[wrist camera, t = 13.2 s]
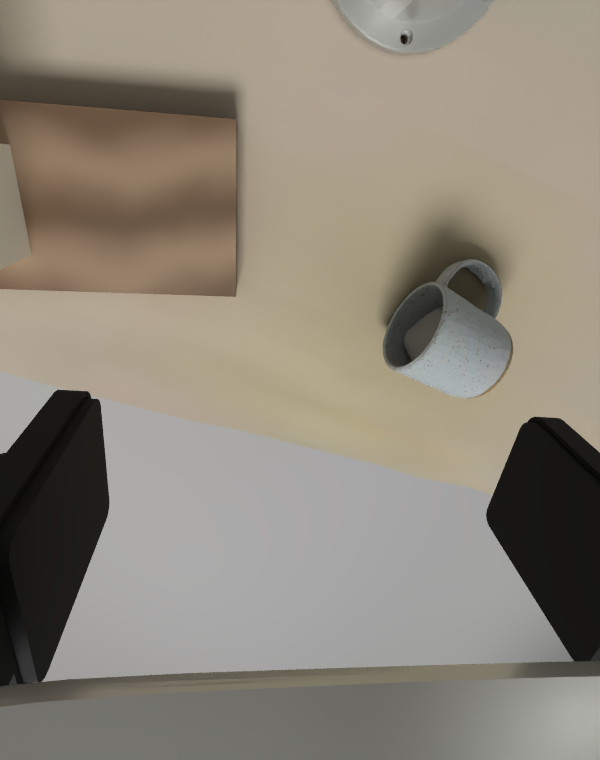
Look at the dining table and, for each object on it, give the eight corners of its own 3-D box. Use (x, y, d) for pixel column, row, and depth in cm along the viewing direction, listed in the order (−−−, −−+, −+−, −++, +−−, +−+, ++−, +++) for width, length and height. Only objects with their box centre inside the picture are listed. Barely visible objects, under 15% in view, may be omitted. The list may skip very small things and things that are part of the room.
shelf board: (-151, 89, 28) (-217, 78, 24) (236, 121, 31) (235, 115, 27) (-91, 278, 34) (-137, 294, 30) (236, 289, 37) (235, 306, 33)
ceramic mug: (443, 381, 43) (482, 422, 36) (372, 347, 40) (399, 384, 34) (512, 281, 39) (570, 306, 32) (438, 237, 37) (484, 254, 30)
